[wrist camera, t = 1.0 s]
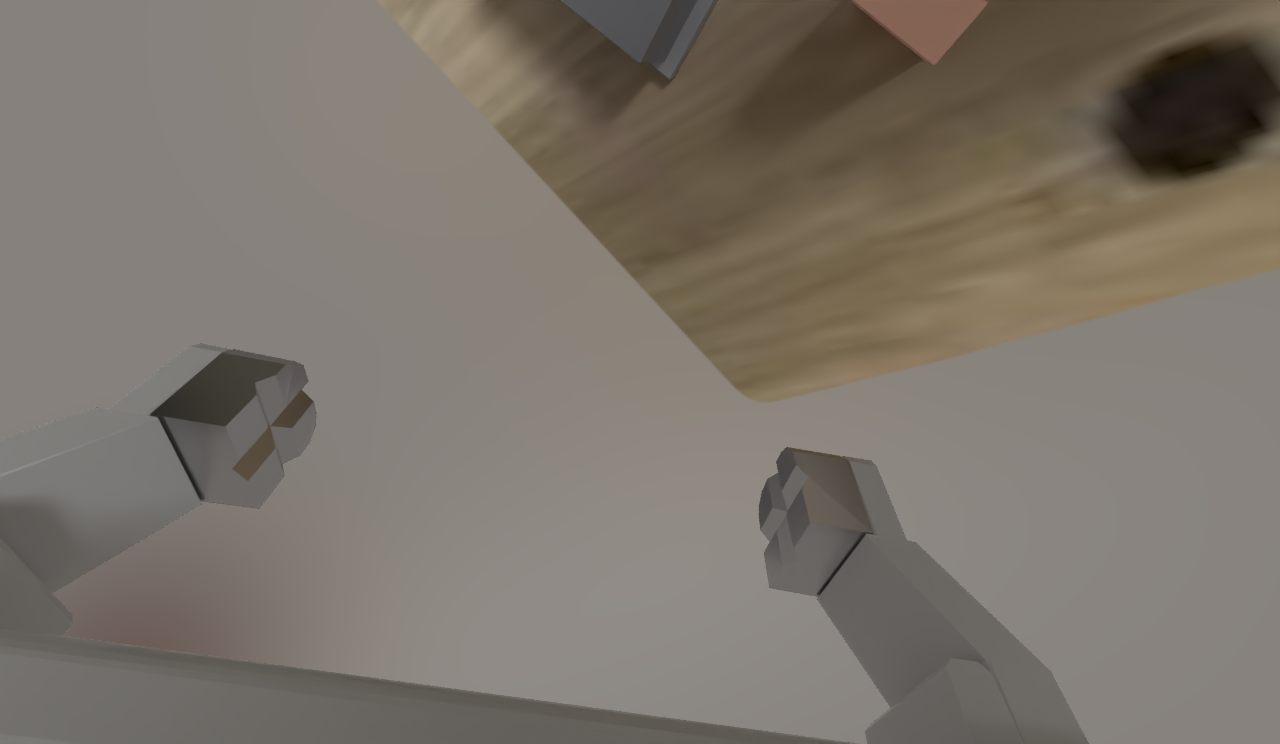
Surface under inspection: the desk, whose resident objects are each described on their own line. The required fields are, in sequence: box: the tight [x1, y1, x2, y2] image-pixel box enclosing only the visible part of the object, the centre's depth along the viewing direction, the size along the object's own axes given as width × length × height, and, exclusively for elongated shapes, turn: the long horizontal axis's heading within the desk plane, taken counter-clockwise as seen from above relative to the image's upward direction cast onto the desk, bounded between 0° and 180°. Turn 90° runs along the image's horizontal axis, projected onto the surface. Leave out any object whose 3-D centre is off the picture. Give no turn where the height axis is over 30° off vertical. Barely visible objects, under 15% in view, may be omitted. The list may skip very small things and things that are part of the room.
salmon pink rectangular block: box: [850, 0, 988, 66], centre depth 30 cm, size 3×6×11 cm, turn 57°
